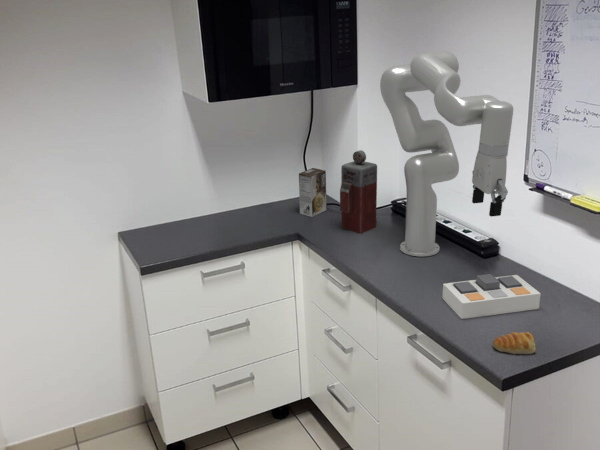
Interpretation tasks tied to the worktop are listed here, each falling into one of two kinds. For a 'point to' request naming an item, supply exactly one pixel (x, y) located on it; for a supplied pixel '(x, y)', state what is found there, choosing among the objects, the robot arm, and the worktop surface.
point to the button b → (487, 282)
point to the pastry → (515, 343)
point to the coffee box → (312, 192)
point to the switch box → (491, 299)
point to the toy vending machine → (358, 194)
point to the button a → (465, 287)
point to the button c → (509, 282)
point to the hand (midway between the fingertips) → (485, 209)
